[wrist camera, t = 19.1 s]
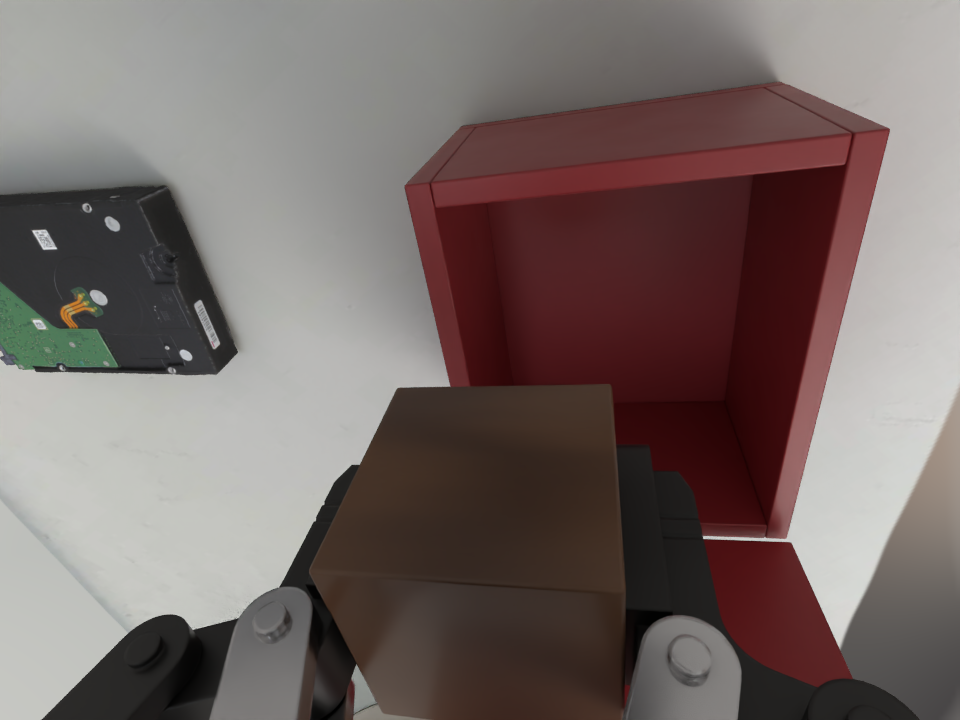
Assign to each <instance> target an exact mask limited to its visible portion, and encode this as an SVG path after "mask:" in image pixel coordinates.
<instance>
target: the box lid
mask: <svg viewBox="0 0 960 720" xmlns="http://www.w3.org/2000/svg"><path fill="white" fill-rule="evenodd" d="M704 543H705V547H706V552H707V556H708V561H709V565H710V570H711V575H712V579H713V584H714V588H715V593H716V598H717V602H718V607H719V611H720V615H721V618H722V621H723V624H724V626H725V628H726V630H727V631H728V633H729V634H730V636H731V637H732V639H733V640H734V641H735V642H736V643H737V645H738V646H739V647H740V648H741V649H742V650H743V651H744V652H746V653H747V654H748V655H749V656H751V657H752V658H753V659H755V660H756V661H758V662H760V663H761V664H763V665H764V666H767V667H769V668H771V669H773V670H775V671H778V672H780V673H783V674H785V675H788V676H790V677H793V678H795V679H798V680H800V681H803V682H805V683H808V684H810V685H813V686H816V687H819V686H820V685H822V684H823V683H825V682H827V681H830V680H834V679H842V678H844V679H853V678H852V676H851V674H850V671H849V669H848V667H847V665H846V662H845V660H844V658H843V656H842V654H841V651H840V649H839V647H838V645H837V643H836V640H835V638H834V636H833V634H832V632H831V629H830V627H829V625H828V623H827V621H826V618H825V616H824V614H823V612H822V609H821V607H820V605H819V603H818V601H817V598H816V596H815V594H814V592H813V590H812V587H811V585H810V583H809V581H808V579H807V576H806V574H805V572H804V570H803V568H802V565H801V563H800V561H799V559H798V556H797V554H796V552H795V550H794V548H793V545H792V543H790V542H766V541H739V540H711V539H704ZM629 689H630V685H625V705H626V701H627V697H628V693H629Z"/></svg>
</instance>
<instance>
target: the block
mask: <svg viewBox="0 0 960 720" xmlns="http://www.w3.org/2000/svg"><path fill="white" fill-rule="evenodd" d="M309 574H310V576H311V578H312V580H313V582H314V583H315V585H316V587H317V589H318V591H319V593H320V595H321V597H322V599H323V601H324V603H325V604H326V606H327V608H328V610H329V612H330V614H331V616H332V618H333V620H334V622H335V624H336V626H337V627H338V629H339V631H340V633H341V635H342V637H343V639H344V641H345V643H346V645H347V647H348V648H349V650H350V652H351V654H352V656H353V658H354V660H355V662H356V664H357V666H358V668H359V670H360V671H361V673H362V675H363V677H364V679H365V681H366V683H367V685H368V687H369V689H370V691H371V692H372V694H373V696H374V698H375V700H376V702H377V704H378V706H379V708H380V710H381V712H382V713H383V714H389V715H396V716H404V717H412V718H420V719H428V720H622V717H623V713H624V709H625V639H626V582H625V568H624V553H623V538H622V524H621V509H620V494H619V480H618V465H617V450H616V436H615V421H614V406H613V392H612V386H611V385H610V384H582V385H525V386H468V387H411V388H398V389H397V390H396V392H395V394H394V396H393V398H392V400H391V402H390V404H389V406H388V408H387V410H386V412H385V414H384V416H383V419H382V421H381V423H380V425H379V427H378V429H377V431H376V433H375V435H374V437H373V439H372V441H371V443H370V445H369V447H368V449H367V451H366V453H365V456H364V458H363V460H362V462H361V464H360V466H359V468H358V470H357V472H356V474H355V476H354V478H353V480H352V482H351V484H350V486H349V488H348V490H347V492H346V495H345V497H344V499H343V501H342V503H341V505H340V507H339V509H338V511H337V513H336V515H335V517H334V519H333V521H332V523H331V525H330V527H329V529H328V532H327V534H326V536H325V538H324V540H323V542H322V544H321V546H320V548H319V550H318V552H317V554H316V556H315V558H314V560H313V562H312V564H311V566H310V569H309Z"/></svg>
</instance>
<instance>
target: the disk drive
mask: <svg viewBox="0 0 960 720" xmlns="http://www.w3.org/2000/svg"><path fill="white" fill-rule="evenodd" d="M0 351H1V352H2V353H3V355H4V356H2V357H0V359H1V360H2V361H4V363H5V364H6V365H15V364H16V365H17V366H18V368H19V369H23V370H32V369H35V371H36V372H82V373H85V372H87V373H90V372H91V373H138V374H176V375H177V374H180V375H206V374H214V375H216V374H218V373H219V372H220V371H221V370H222V369H223V368H224V367H225V366H226V365H227V364H228V363H229V361H230V360H231V359H232V358H233V357H234V356H235V355H236V354H237V353H238V351H237V349H236V347H235V345H234V343H233V339H232V336H231V334H230V330H229V327H228V325H227V322H226V320H225V318H224V315H223V313H222V311H221V308H220V306H219V304H218V301H217V299H216V297H215V295H214V292H213V290H212V287H211V284H210V282H209V280H208V278H207V276H206V273H205V270H204V268H203V265H202V263H201V261H200V259H199V256H198V254H197V251H196V250H195V247H194V245H193V242H192V239H191V237H190V235H189V232H188V230H187V228H186V225H185V223H184V221H183V219H182V216H181V214H180V212H179V211H178V208H177V207H176V205H175V203H174V200H173V198H172V196H171V193H170V190H169V189H168V188H167V187H166V186H160V187H154V186H148V187H122V188H115V189H97V190H82V191H67V192H50V193H42V194H41V193H38V194H33V193H31V194H15V195H0Z"/></svg>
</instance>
